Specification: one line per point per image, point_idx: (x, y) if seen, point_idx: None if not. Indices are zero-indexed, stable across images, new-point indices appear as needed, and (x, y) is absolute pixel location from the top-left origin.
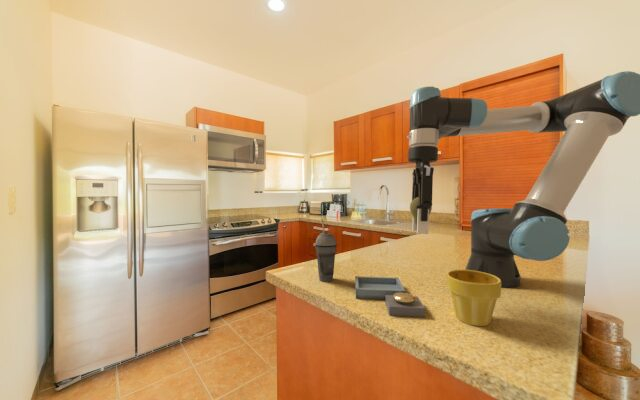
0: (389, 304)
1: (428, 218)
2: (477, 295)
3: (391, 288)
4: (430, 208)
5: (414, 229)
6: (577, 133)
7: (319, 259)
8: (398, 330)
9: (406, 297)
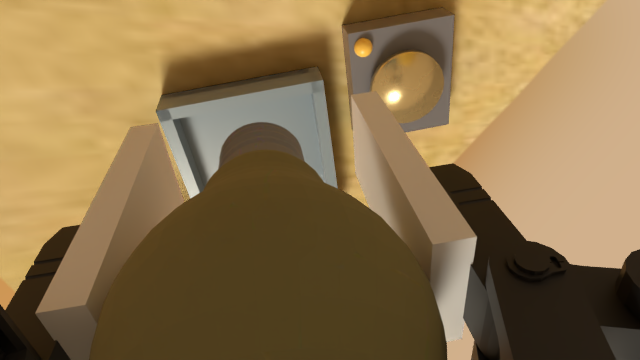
0: (432, 124)
1: (424, 166)
2: None
3: (238, 121)
4: (376, 225)
5: (178, 194)
6: None
7: None
8: (518, 86)
9: (416, 81)
